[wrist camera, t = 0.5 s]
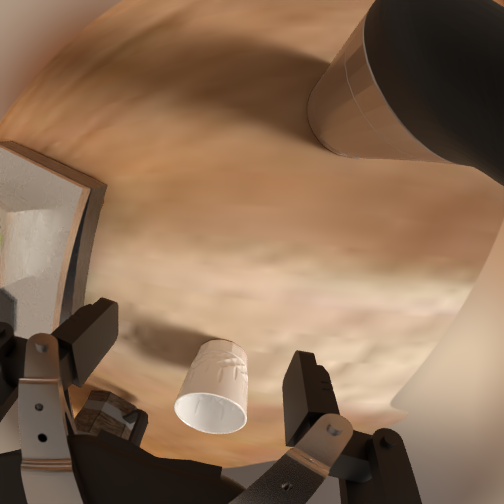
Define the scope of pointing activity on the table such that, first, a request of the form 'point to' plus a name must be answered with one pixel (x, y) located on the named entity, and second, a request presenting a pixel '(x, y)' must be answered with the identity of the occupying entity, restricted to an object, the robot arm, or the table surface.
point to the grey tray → (85, 233)
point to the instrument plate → (35, 241)
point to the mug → (111, 417)
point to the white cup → (215, 389)
